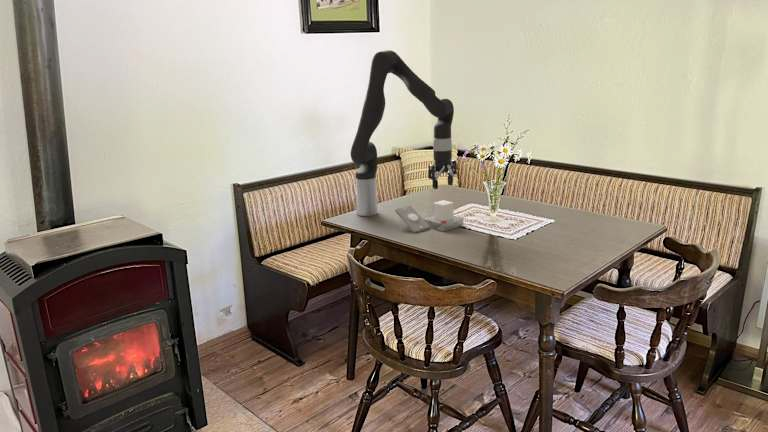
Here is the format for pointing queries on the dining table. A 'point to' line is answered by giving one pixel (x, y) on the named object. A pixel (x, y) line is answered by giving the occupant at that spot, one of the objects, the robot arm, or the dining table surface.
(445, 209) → the plug
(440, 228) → the socket
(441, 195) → the dining table surface
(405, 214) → the light switch
